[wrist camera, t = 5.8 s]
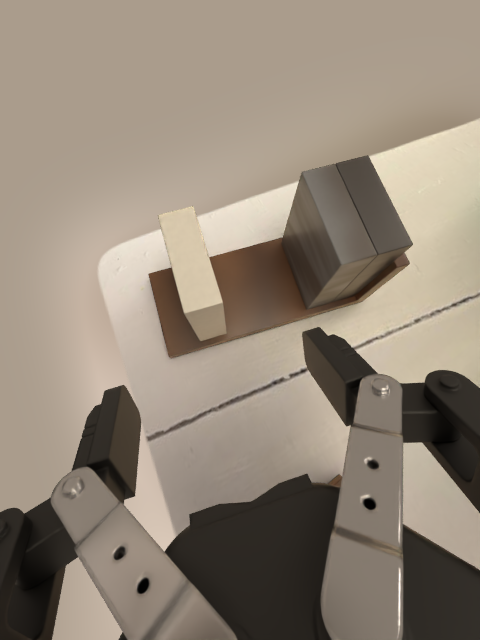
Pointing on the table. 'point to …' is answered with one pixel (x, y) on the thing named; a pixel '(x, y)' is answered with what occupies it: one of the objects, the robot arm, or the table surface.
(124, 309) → the table surface
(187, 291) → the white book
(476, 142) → the table surface
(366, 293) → the brown wooden bookend
